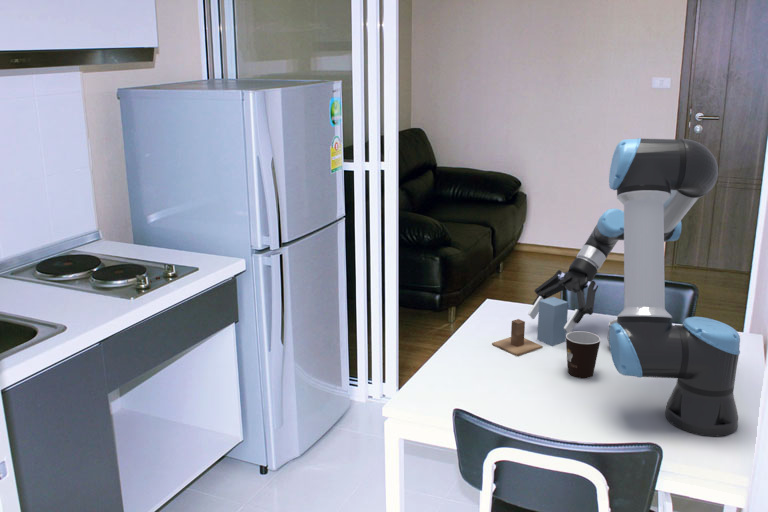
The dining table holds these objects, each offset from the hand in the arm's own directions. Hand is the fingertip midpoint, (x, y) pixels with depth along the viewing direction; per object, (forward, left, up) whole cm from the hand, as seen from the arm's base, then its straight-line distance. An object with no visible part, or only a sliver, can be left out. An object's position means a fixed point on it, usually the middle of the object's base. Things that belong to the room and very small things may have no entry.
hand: (548, 323), depth 206 cm
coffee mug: (-15, -14, -6) cm, 21 cm away
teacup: (+4, -23, -6) cm, 24 cm away
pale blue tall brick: (+1, -1, -6) cm, 6 cm away
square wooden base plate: (-8, +6, -6) cm, 11 cm away
